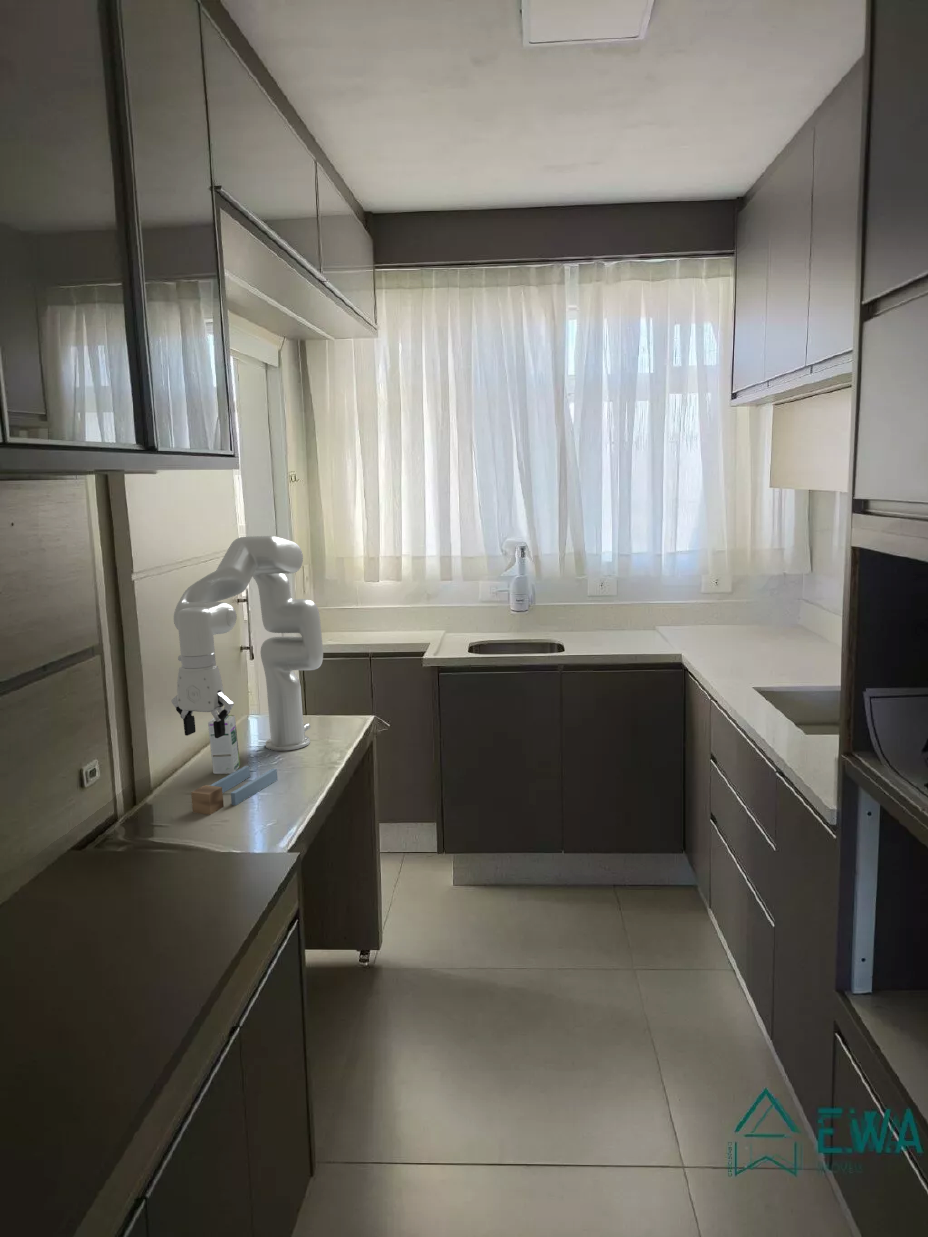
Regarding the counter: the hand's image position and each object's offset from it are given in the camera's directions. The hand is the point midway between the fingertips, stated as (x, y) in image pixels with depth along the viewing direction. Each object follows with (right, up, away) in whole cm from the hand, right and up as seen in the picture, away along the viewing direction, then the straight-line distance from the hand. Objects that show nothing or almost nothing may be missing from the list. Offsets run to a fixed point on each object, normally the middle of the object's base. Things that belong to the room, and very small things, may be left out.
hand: (205, 734), depth 208 cm
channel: (+5, -16, +14) cm, 22 cm away
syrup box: (-3, -14, +30) cm, 33 cm away
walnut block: (0, -18, +2) cm, 18 cm away
